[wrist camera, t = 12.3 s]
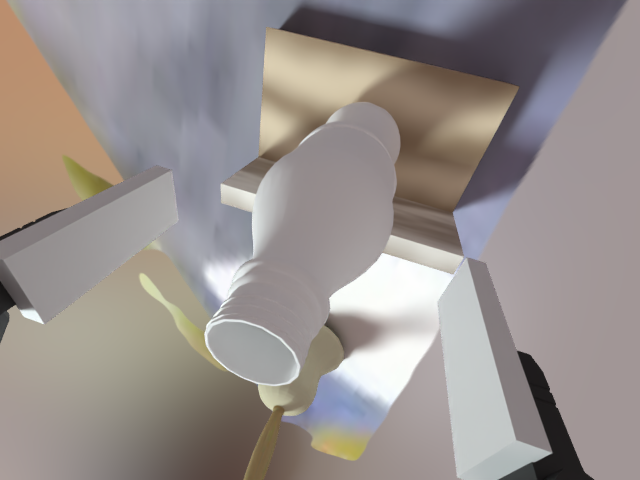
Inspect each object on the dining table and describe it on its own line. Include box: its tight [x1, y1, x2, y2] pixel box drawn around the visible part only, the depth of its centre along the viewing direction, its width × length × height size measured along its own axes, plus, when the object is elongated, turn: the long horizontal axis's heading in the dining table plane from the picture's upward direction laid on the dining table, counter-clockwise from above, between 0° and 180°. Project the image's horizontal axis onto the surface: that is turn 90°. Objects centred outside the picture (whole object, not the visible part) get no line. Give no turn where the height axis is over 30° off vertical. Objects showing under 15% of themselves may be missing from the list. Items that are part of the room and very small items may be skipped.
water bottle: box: [204, 102, 400, 386], centre depth 18 cm, size 7×7×25 cm
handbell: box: [244, 325, 344, 480], centre depth 43 cm, size 15×15×25 cm
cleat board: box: [221, 27, 519, 274], centre depth 26 cm, size 14×22×11 cm, turn 80°
